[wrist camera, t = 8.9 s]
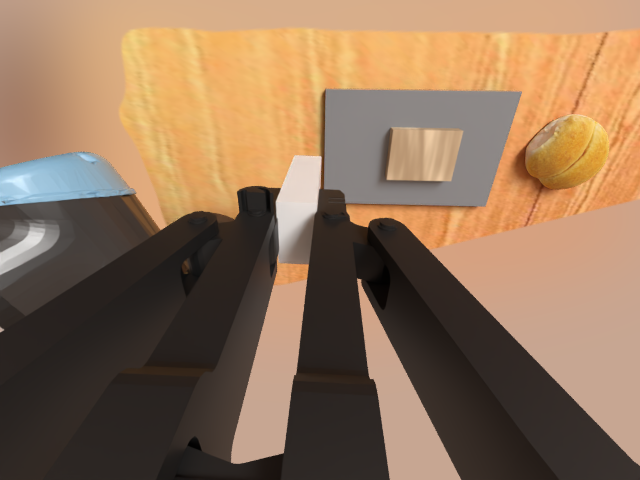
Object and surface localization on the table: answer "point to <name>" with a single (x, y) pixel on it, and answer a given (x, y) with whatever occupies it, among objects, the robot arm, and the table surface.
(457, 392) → the robot arm
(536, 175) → the bread roll
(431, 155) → the light wood flat block
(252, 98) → the table surface
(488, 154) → the slate board
